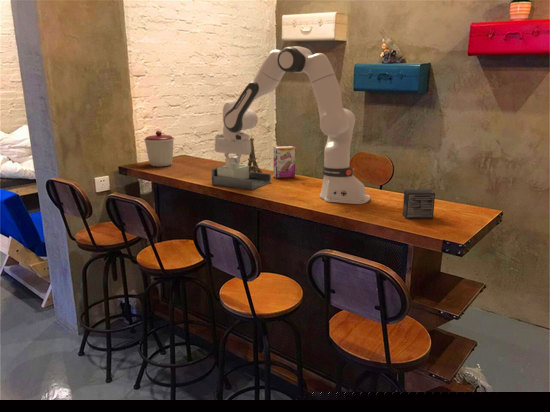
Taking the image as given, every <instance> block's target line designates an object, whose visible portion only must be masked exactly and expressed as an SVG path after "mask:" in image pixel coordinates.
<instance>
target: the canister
mask: <svg viewBox="0 0 550 412" xmlns="http://www.w3.org/2000/svg"><path fill="white" fill-rule="evenodd" d="M174 140H175V137H173V136H172V135H169V134H163V132H162V131H161V130H157V131H156V132H155V135H148V136H146V137H145V138H143V141H144V143H145V147H146V153H147V158H148V162H149V164H150V165H151V166H152V167H155V166H156V168H159V167H161V168H162V167H163V166H164V167H168V166H169V167H170V166H171V165H172V164H173V158H174Z"/></svg>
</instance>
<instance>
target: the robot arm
mask: <svg viewBox="0 0 550 412" xmlns="http://www.w3.org/2000/svg"><path fill="white" fill-rule="evenodd" d="M285 73H288V74H302V73H305V74H306V75H307V77H308V79H309V83H310V86H311V89H312V91H313V94H314V97H315V99H316V104H317V110H318V116H319V129H320V131H321V132H322V134H323V135H325V136H327V140H326V144H325V145H324V146H325V147H324V161H323V162H324V163H323V164H324V165H323V166H322V167H323V168H322V178H323V179H322V186H321V189H320V190H321V191H320V193H319V198H320V199H322V200H324V201H325V202H328V203H339V204H340V203H341V204H349V205H350V204H351V205H362V204H366V203H368V202H370V200H371V196H370V195H369V194H367V193H366V187H365V185H364V183H363V182H362V181H360V180H359V179H358V178H357V177H355V176H354V171H355V168H354V167H353V168H352V167H351V166H350V155H351V144H352V140H353V136H354V135H353V134H354V129H355V128H354V126H355V124H356V117H355V114H354V113H353V111H352V110H349V109H347V108H344V106H343V105H344V104H343V100H342V91H341V87H340V85H339V82H338V81H339V80H338V78H337V76H336V73H335V70H334V68H333V66H332V63H331V62H330V60H329V58H328V56H327V54H325V53H321V52H317V53H315V52H314V51H313V49H311V48H310V47H305V46H304V47H303V46H300V45H299V46H298V45H297V46H295V45H294V46H286V47H284V48H282V50H281V49H272V50H271V51H270V52H269V53H268V54H267V55H266V57H265V58H264V60H263V61H262V63H261V65H260V67H259V69H258V70H257V72H256V74H255V75H254V76H253V78H252V79H251V80H250V82H249V83H248V84H247V85H246V86H245V88H244V89H243V91H242V92H241V94H240V96H238V98H237V101H231V102H227V103H224V104H223V106H222V107H223V108H222V122H223V127H222V133H217V134H216V135H215V136H214V137H215V138H214V141H215V143H214V151H215V153H220V154H221V153H223V154H224V157H225V159H227V158H230V156H229V155H230V154H233V155H236V156H237V159H235V163H239V159H240V160H241V157H242V155H243V156H248V155H249V154H250V153H251V143H250V142H251V141H250V138H251V137H250V134H249V133H246V132H244V131H247V130H252V129H254V128H255V127H256V126H257V124H258V116H257V113H256V111H254V110H253V109H251V106H252V104H253V102H254V101H256V100H257V99H258V98H260V97H262V96H264V95H265V96H266V95H267V94H269V93H272V92H273V91H275V90H276V88H277V87H278V86H279V84H280V82H281V80H282V79H283V76H285Z"/></svg>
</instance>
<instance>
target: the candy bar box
mask: <svg viewBox="0 0 550 412" xmlns="http://www.w3.org/2000/svg"><path fill="white" fill-rule="evenodd" d="M272 164H273V171H272V172H273V174H272V175H273V178H274V179H283V178H295V176H296V146H292V145H288V146H273V163H272Z"/></svg>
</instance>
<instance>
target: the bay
mask: <svg viewBox="0 0 550 412" xmlns="http://www.w3.org/2000/svg"><path fill="white" fill-rule="evenodd" d="M223 166H226V165H225V164H224V165H221V166H217V167H215V168H211V185H212V186H221V187H227V188H234V189H243V190H248V191H254V190H256V189H259V188H260V187H263V186H265V185H268V184H270V183H271V181H272V178H271V173H265V172H262V173H258V172H257V171H256V172H253V171H251V172H249V179H246V180H245V179H237V178H229V177H221V176H217V168H220V167H223Z"/></svg>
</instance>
